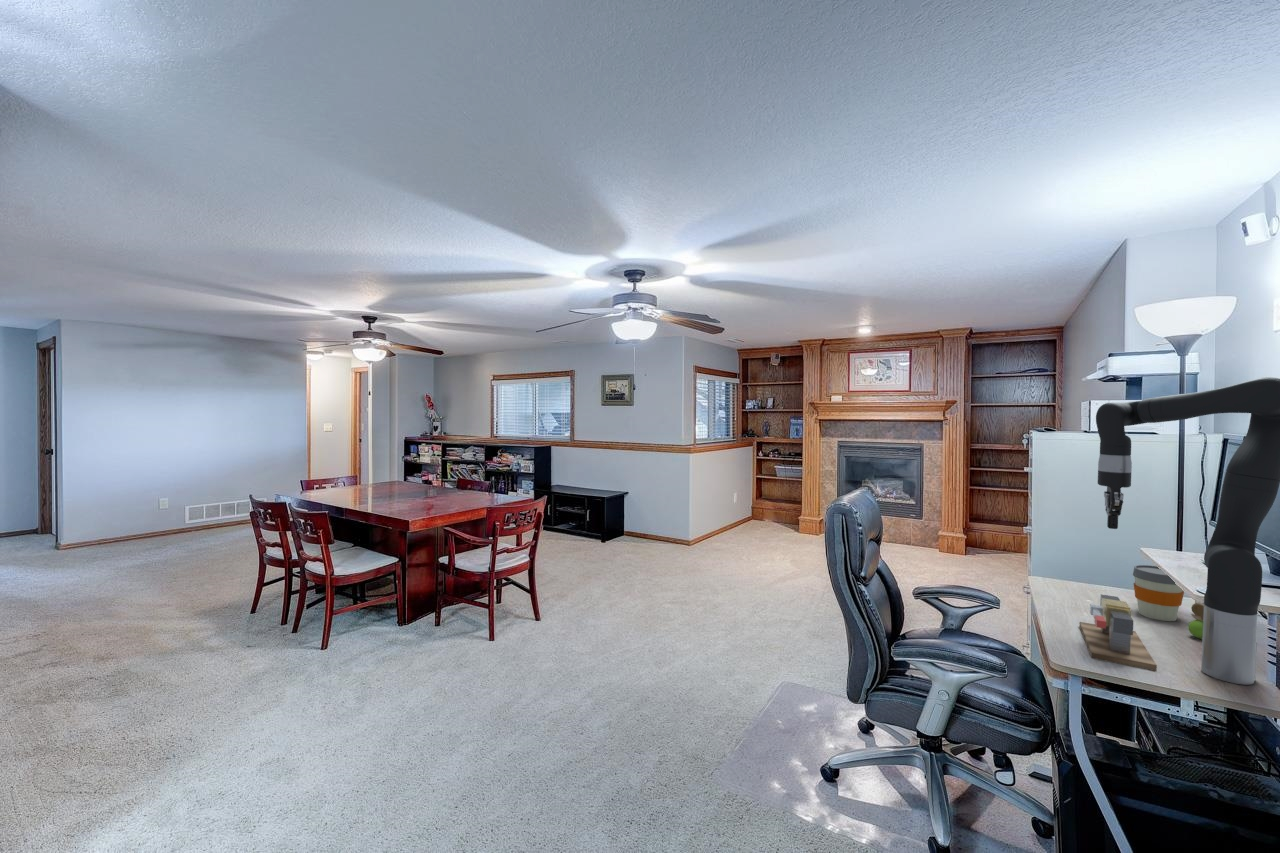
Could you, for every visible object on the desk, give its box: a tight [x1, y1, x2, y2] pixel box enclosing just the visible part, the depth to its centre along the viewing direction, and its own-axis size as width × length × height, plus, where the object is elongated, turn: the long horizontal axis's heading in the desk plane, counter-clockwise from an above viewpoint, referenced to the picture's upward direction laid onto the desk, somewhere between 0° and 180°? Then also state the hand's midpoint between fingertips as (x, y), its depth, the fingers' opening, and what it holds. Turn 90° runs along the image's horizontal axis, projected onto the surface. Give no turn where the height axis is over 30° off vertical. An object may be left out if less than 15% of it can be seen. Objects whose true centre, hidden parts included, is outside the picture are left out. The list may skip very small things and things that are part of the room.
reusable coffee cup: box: [1132, 564, 1185, 622], centre depth 180 cm, size 12×13×15 cm
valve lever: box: [1089, 603, 1106, 629], centre depth 154 cm, size 2×3×13 cm
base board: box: [1078, 621, 1158, 672], centre depth 156 cm, size 26×13×2 cm, turn 147°
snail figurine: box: [1187, 602, 1204, 640], centre depth 162 cm, size 5×6×12 cm
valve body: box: [1099, 594, 1134, 654], centre depth 156 cm, size 22×5×11 cm, turn 147°
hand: (1112, 528), depth 164 cm, fingers closed
